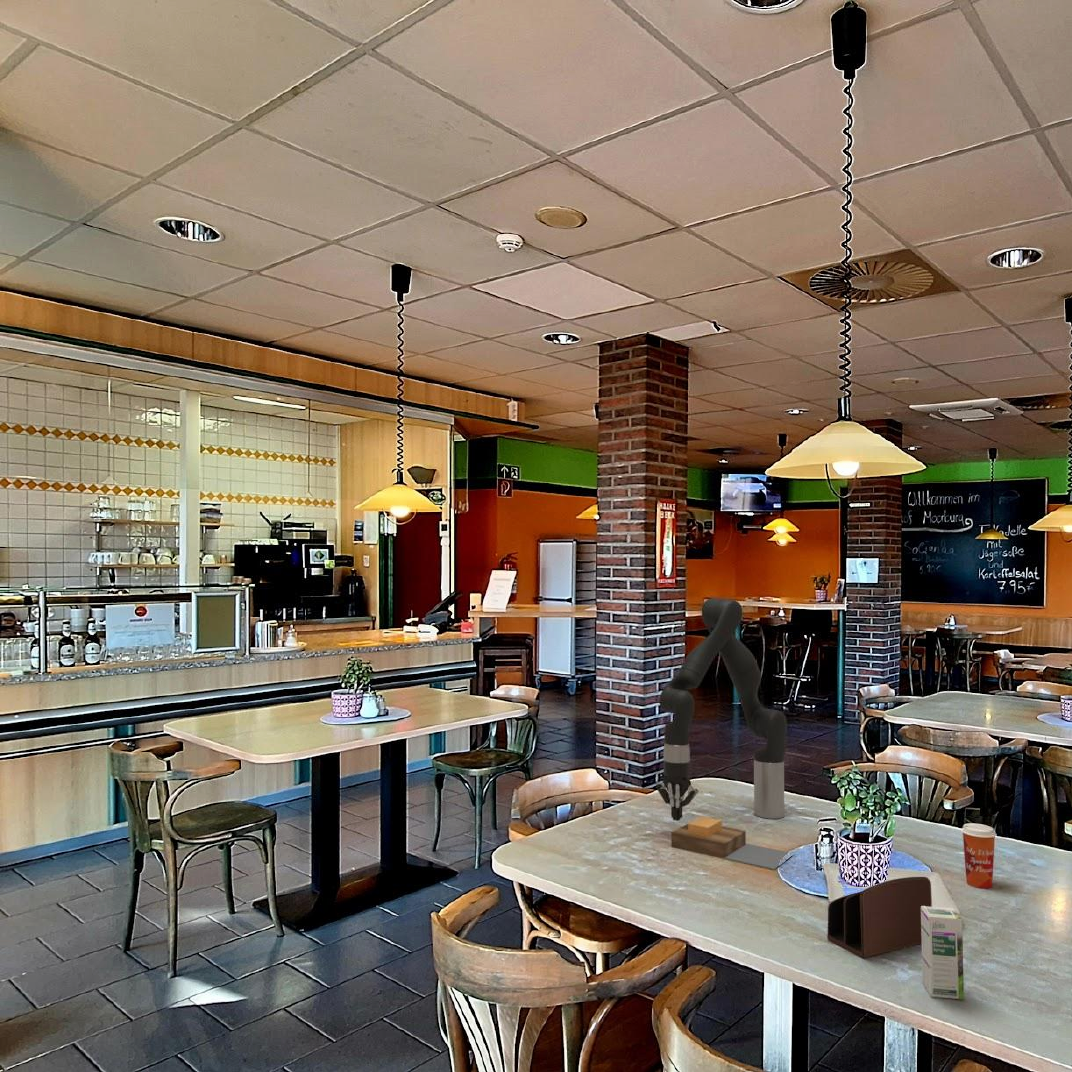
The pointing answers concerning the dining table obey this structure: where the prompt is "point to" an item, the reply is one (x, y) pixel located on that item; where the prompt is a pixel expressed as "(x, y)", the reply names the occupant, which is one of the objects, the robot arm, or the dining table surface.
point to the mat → (757, 856)
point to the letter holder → (880, 917)
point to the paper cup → (979, 854)
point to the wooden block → (709, 841)
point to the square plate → (937, 887)
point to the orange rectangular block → (705, 826)
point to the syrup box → (942, 952)
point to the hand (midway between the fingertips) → (676, 819)
